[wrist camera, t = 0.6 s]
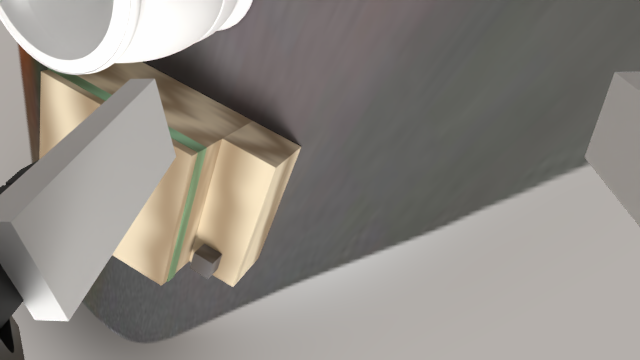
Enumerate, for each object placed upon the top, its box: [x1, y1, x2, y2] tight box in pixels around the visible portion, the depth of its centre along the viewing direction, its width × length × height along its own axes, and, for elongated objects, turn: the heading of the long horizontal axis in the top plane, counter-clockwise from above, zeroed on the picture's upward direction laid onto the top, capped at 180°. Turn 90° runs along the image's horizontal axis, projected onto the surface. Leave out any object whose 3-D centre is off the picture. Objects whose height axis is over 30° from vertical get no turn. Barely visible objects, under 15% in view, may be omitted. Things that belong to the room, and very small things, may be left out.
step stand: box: [40, 62, 301, 287], centre depth 39 cm, size 19×14×9 cm
